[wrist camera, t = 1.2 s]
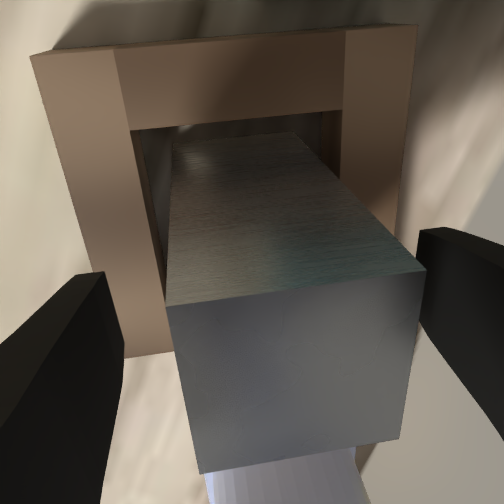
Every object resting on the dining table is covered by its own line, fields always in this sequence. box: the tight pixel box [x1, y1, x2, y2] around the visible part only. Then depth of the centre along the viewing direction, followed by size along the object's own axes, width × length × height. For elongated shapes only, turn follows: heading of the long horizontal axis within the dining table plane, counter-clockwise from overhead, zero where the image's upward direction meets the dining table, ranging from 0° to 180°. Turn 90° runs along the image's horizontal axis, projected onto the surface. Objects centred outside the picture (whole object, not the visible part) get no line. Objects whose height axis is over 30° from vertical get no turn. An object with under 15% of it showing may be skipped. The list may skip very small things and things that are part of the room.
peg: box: [165, 131, 427, 474], centre depth 11 cm, size 4×4×9 cm
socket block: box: [29, 23, 418, 359], centre depth 14 cm, size 10×10×2 cm
